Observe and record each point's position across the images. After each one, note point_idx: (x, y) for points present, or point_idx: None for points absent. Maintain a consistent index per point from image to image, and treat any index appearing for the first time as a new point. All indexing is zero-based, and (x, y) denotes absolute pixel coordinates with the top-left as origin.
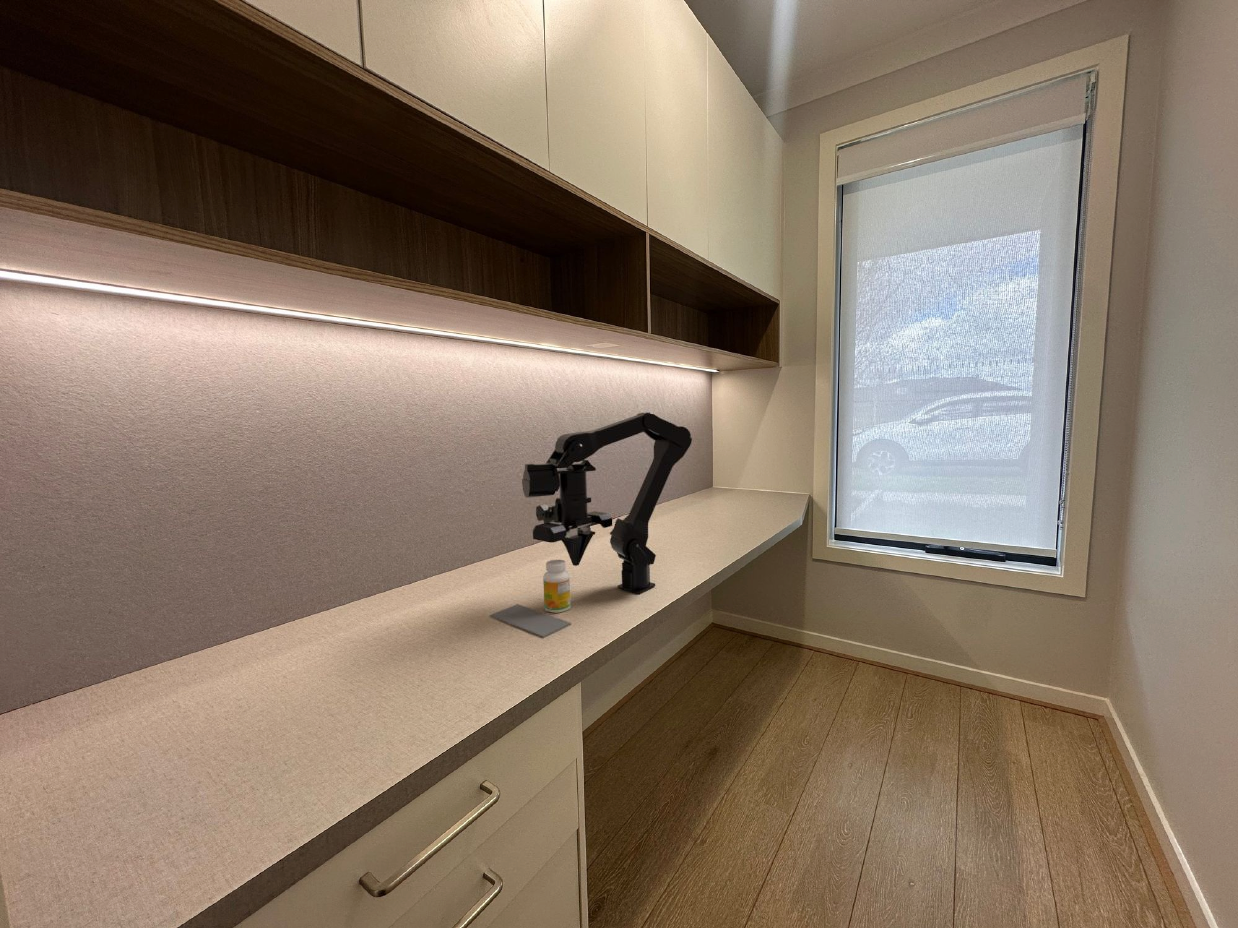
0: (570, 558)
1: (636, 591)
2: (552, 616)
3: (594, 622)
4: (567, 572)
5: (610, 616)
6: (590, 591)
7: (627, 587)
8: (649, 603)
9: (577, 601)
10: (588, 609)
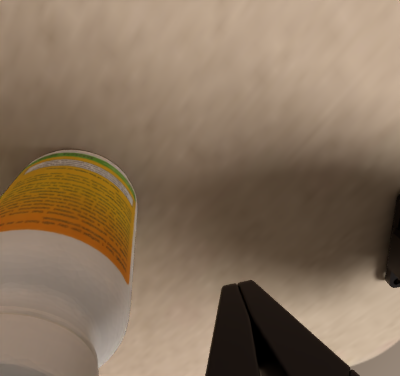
0: (214, 330)
1: (388, 279)
2: None
3: (122, 356)
4: (103, 361)
5: (187, 350)
6: (308, 138)
7: (392, 258)
8: (336, 342)
9: (188, 195)
10: (170, 279)
